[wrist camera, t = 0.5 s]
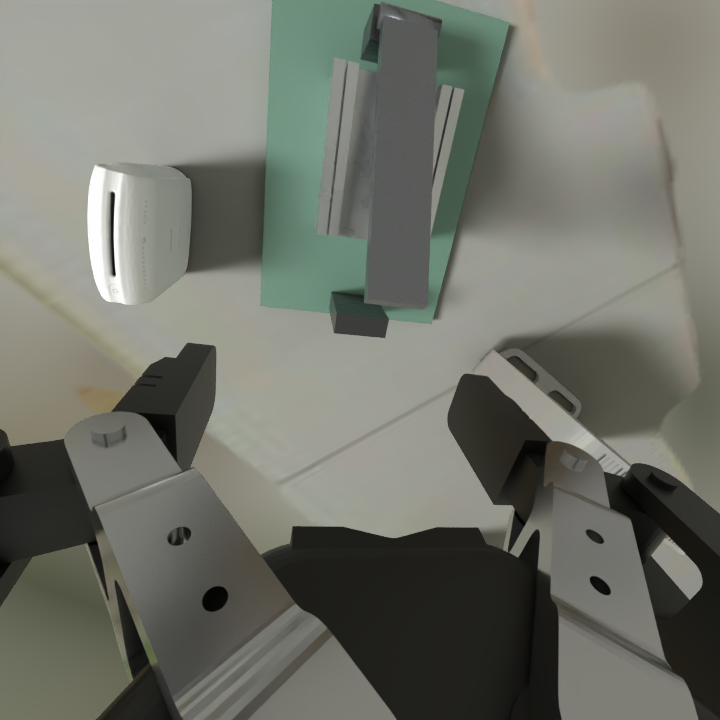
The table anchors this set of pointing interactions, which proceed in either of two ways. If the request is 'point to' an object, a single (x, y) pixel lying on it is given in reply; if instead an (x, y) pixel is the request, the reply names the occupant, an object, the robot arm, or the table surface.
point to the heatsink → (365, 168)
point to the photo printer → (138, 230)
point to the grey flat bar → (402, 159)
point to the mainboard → (305, 139)
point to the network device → (551, 410)
